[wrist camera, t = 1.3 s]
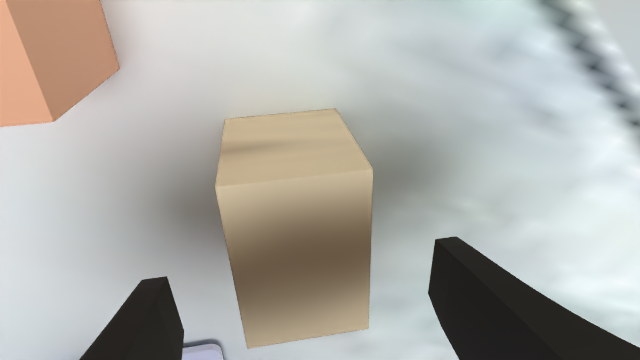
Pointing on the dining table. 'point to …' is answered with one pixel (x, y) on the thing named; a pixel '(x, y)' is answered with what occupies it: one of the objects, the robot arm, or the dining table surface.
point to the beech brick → (296, 224)
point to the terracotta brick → (51, 57)
